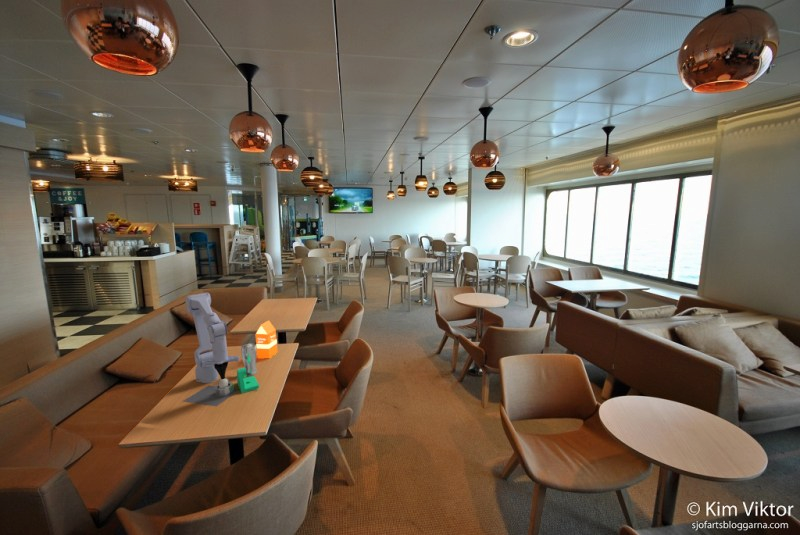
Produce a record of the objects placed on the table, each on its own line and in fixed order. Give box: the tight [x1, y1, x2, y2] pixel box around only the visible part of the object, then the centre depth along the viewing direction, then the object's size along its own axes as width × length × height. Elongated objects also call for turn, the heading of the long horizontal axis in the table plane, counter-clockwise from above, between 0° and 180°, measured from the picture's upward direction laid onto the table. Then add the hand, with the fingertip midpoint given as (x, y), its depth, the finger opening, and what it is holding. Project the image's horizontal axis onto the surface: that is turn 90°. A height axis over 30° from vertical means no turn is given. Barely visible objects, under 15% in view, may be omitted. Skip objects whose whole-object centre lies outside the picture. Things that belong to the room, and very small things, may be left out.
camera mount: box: [236, 366, 260, 394], centre depth 156 cm, size 12×8×10 cm, turn 35°
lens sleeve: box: [214, 381, 235, 397], centre depth 150 cm, size 7×7×4 cm
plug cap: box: [218, 378, 229, 389], centre depth 150 cm, size 4×4×6 cm
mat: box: [183, 384, 241, 407], centre depth 149 cm, size 18×14×1 cm
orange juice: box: [254, 320, 278, 359], centre depth 192 cm, size 8×9×20 cm
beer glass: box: [240, 343, 258, 377], centre depth 171 cm, size 7×7×15 cm
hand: (223, 378), depth 150 cm, fingers closed
